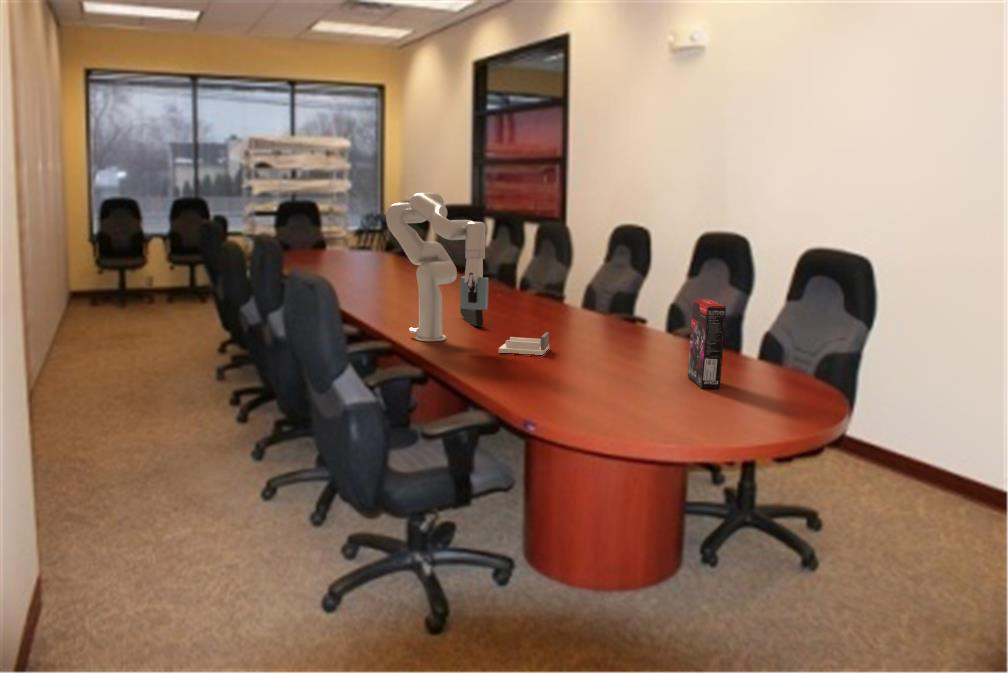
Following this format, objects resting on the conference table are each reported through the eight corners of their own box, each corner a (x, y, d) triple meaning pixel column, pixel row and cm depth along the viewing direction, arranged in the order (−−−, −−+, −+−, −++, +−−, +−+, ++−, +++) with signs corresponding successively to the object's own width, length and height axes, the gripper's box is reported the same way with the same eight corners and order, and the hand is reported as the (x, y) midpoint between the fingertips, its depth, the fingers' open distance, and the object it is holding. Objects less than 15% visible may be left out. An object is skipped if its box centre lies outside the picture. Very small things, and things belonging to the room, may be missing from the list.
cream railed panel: (498, 353, 338) (499, 335, 337) (506, 346, 351) (507, 329, 350) (542, 356, 334) (543, 338, 333) (549, 349, 348) (549, 331, 346)
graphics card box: (686, 377, 303) (690, 298, 298) (706, 377, 304) (710, 298, 299) (701, 389, 287) (706, 305, 282) (722, 389, 287) (727, 306, 282)
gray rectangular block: (460, 308, 344) (460, 277, 342) (462, 306, 348) (463, 276, 345) (485, 310, 342) (486, 279, 339) (487, 308, 346) (488, 277, 343)
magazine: (485, 309, 388) (469, 281, 414) (477, 309, 388) (462, 281, 413) (481, 343, 396) (466, 314, 422) (474, 344, 395) (459, 314, 421)
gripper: (471, 251, 350) (470, 298, 353) (459, 255, 334) (458, 304, 337) (489, 252, 348) (488, 299, 351) (479, 256, 332) (477, 305, 335)
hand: (474, 301), depth 344 cm, fingers closed on gray rectangular block, 4 cm apart
